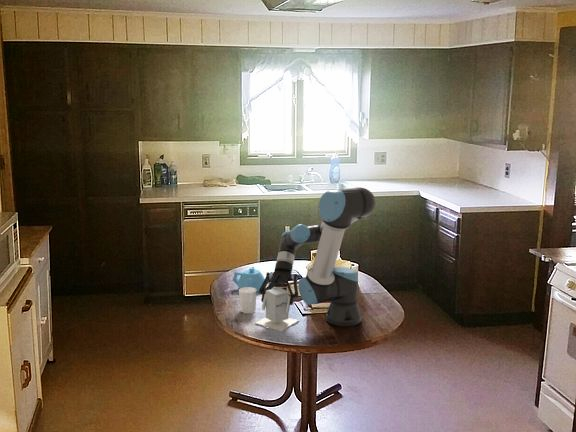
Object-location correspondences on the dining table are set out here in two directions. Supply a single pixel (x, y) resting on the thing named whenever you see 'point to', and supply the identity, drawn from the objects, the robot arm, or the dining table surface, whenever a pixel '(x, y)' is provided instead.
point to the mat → (277, 323)
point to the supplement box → (276, 304)
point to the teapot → (249, 279)
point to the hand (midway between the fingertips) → (275, 310)
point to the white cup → (247, 299)
